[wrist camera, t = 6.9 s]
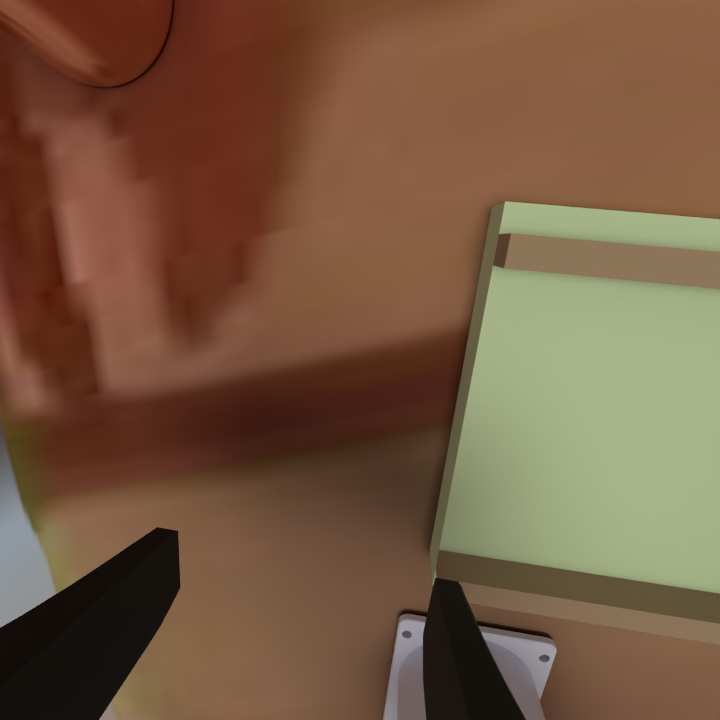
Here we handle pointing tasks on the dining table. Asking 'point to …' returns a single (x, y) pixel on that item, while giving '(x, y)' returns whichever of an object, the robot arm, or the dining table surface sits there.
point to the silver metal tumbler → (90, 35)
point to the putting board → (590, 423)
